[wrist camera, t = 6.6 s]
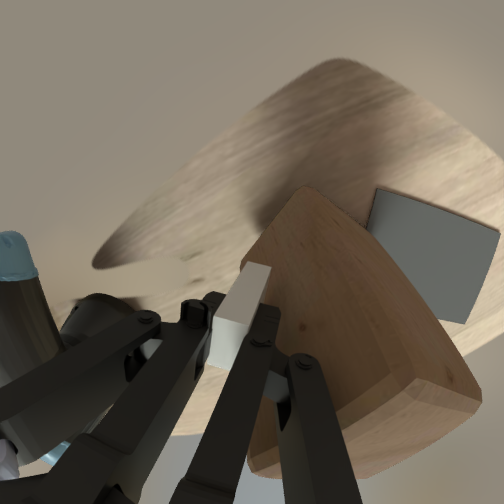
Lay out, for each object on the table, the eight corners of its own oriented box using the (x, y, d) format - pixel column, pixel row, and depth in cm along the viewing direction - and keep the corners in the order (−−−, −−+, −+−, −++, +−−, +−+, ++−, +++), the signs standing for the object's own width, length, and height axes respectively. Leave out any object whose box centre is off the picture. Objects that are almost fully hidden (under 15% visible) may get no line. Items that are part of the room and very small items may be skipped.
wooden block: (301, 178, 24) (426, 377, 7) (376, 236, 27) (491, 404, 10) (235, 262, 28) (239, 480, 11) (312, 304, 31) (363, 482, 14)
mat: (344, 297, 30) (344, 298, 30) (377, 188, 26) (377, 188, 26) (463, 323, 28) (464, 324, 28) (499, 233, 24) (500, 233, 24)
